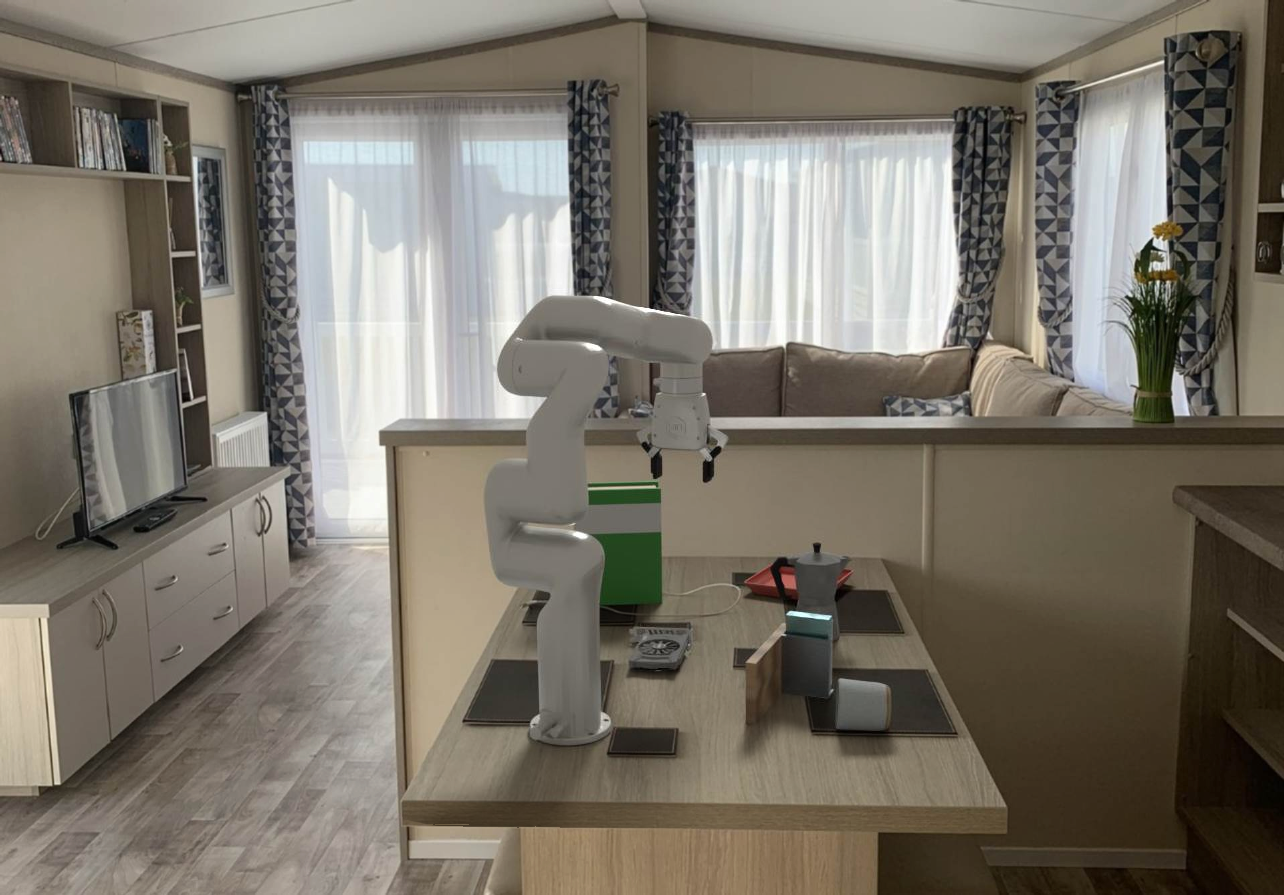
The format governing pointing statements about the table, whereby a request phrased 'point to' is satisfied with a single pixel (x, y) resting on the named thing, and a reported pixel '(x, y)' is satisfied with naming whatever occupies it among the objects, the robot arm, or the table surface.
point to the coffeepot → (813, 581)
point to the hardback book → (627, 539)
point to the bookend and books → (807, 655)
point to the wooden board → (764, 677)
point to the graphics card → (659, 647)
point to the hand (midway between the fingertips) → (682, 479)
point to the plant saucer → (767, 586)
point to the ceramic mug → (862, 705)
